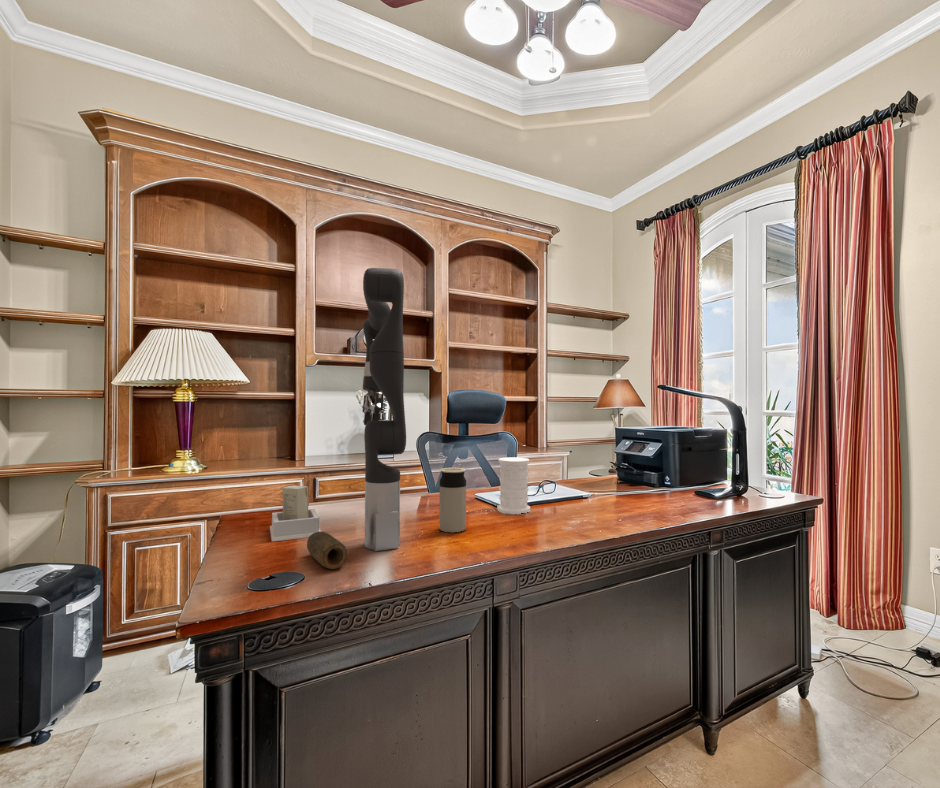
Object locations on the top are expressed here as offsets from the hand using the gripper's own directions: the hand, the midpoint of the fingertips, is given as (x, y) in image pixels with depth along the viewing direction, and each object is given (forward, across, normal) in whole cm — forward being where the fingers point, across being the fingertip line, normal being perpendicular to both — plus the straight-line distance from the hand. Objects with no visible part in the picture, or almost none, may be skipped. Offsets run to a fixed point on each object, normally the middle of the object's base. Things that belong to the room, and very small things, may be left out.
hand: (371, 424), depth 154 cm
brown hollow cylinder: (+36, +34, -19) cm, 53 cm away
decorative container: (+27, +13, +50) cm, 58 cm away
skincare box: (+32, +5, -21) cm, 39 cm away
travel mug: (+31, +24, +20) cm, 44 cm away
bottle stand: (+33, +5, -22) cm, 40 cm away
